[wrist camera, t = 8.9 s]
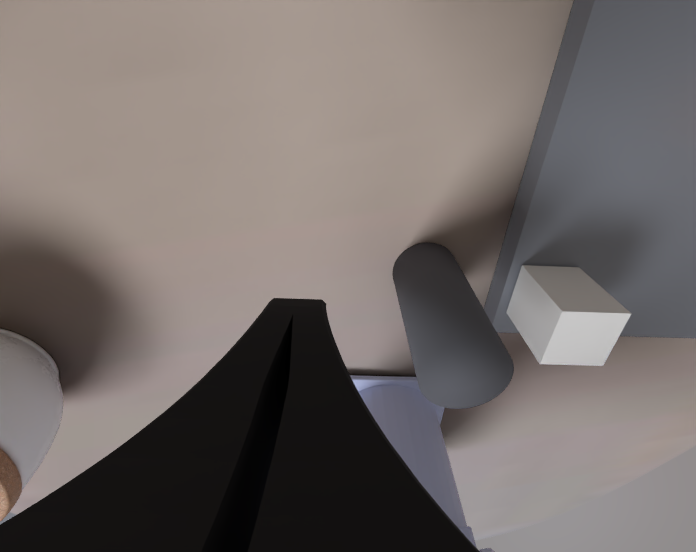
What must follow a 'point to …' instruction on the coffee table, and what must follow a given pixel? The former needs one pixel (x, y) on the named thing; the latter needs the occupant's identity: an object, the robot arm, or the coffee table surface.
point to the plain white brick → (565, 315)
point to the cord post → (448, 330)
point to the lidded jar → (25, 412)
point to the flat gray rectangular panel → (615, 167)
